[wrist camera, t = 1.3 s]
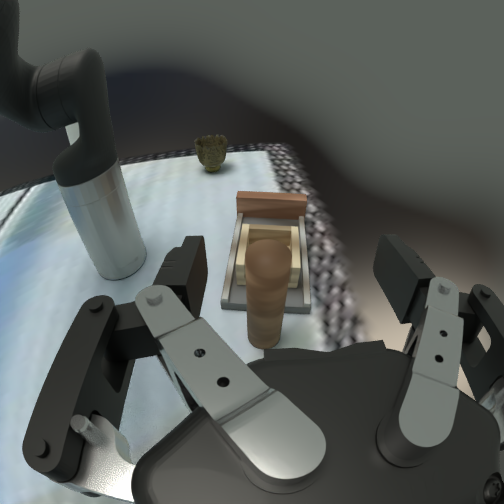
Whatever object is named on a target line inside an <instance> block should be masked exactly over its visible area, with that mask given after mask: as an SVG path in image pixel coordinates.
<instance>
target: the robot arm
mask: <svg viewBox="0 0 504 504" xmlns="http://www.w3.org/2000/svg"><path fill="white" fill-rule="evenodd" d="M18 36H19V3H18V0H0V115H2V116H4V117H6V118H8V119H10V120H12V121H14V122H16V123H18V124H20V125H21V126H23V127H25V128H27V129H30V130H32V131H35V132H41V133H42V132H43V133H44V132H50V131H53V130H56V129H59V128H62V127H65V126H68V125H71V124H74V123H77V122H78V125H79V138H78V139H77V140H76V141H75V142H74V143H73V144H72V145H71V146H69V147H68V148H67V149H66V150H64V151H63V152H62V153H61V154H60V155H59V156H58V157H57V158H56V160H55V161H54V163H53V172H54V176H55V178H56V181H57V183H58V186H59V189H60V191H61V194H62V197H63V199H64V201H65V204H66V206H67V208H68V211H69V213H70V215H71V218H72V220H73V222H74V224H75V226H76V229H77V231H78V233H79V235H80V237H81V239H82V241H83V243H84V245H85V247H86V249H87V251H88V253H89V255H90V257H91V259H92V261H93V263H94V265H95V267H96V269H97V271H98V272H99V274H100V275H101V276H102V277H104V278H106V279H110V280H117V279H122V278H125V277H128V276H129V275H131V274H133V273H134V272H136V271H137V270H138V269H139V268H140V267H141V266H142V264H143V263H144V261H145V258H146V249H145V246H144V243H143V240H142V237H141V235H140V231H139V228H138V225H137V222H136V219H135V216H134V213H133V209H132V206H131V203H130V199H129V196H128V193H127V189H126V186H125V182H124V178H123V175H122V171H121V168H120V164H119V160H118V156H117V152H116V147H115V141H114V134H113V128H112V123H111V117H110V111H109V104H108V94H107V85H106V76H105V70H104V65H103V62H102V59H101V57H100V55H99V54H98V53H97V52H96V51H95V50H94V49H91V48H88V49H83V50H80V51H77V52H74V53H72V54H69V55H67V56H64V57H61V58H59V59H57V60H54V61H52V62H50V63H48V64H45V65H43V66H33V65H31V64H29V63H27V62H25V61H24V60H23V59H22V58H21V57H19V55H18V51H17V50H18ZM373 271H374V275H375V277H376V279H377V281H378V283H379V285H380V286H381V288H382V290H383V292H384V293H385V295H386V297H387V299H388V301H389V302H390V304H391V306H392V308H393V310H394V312H395V313H396V316H397V318H398V320H399V321H400V323H401V324H405V323H412V326H411V328H410V330H409V333H408V336H407V339H406V342H405V346H404V348H403V352H400V351H397V350H392V349H386V347H385V344H384V342H383V340H379V341H371V342H362V343H355V344H353V345H350V346H347V347H344V348H341V349H338V350H335V351H331V352H322V351H314V350H307V349H300V348H282V349H264V358H262V359H258V360H255V361H252V362H250V363H248V364H245V363H244V362H243V361H242V360H241V359H240V358H239V357H238V356H237V355H236V353H235V352H234V351H233V350H232V349H231V348H230V347H229V346H228V345H227V344H226V343H225V342H224V341H223V339H222V338H221V337H220V336H219V335H218V334H217V333H216V332H215V331H214V329H213V328H212V327H211V326H210V325H209V324H208V323H207V321H206V320H205V319H204V318H202V317H199V316H200V311H201V306H202V301H203V297H204V292H205V287H206V283H207V277H208V267H207V259H206V250H205V242H204V237H203V236H186V237H185V239H184V242H183V244H182V246H181V247H175V248H173V249H172V250H171V251H170V252H169V253H167V255H166V257H165V259H164V262H163V263H162V265H161V268H160V270H159V272H158V274H157V276H156V278H155V280H154V282H153V285H152V286H149V287H147V288H145V289H143V290H142V291H140V292H139V293H138V294H137V296H136V298H135V301H134V302H131V303H126V304H121V305H115V304H114V301H113V299H112V298H111V297H109V296H105V295H100V296H95V297H93V298H90V299H89V300H87V301H86V302H85V303H84V304H83V305H82V306H81V308H80V310H79V312H78V314H77V315H76V317H75V319H74V321H73V323H72V325H71V327H70V329H69V331H68V333H67V334H66V336H65V338H64V340H63V342H62V345H61V347H60V349H59V351H58V353H57V355H56V357H55V359H54V361H53V364H52V366H51V368H50V370H49V373H48V375H47V377H46V380H45V382H44V384H43V387H42V389H41V392H40V394H39V397H38V399H37V402H36V405H35V407H34V410H33V413H32V416H31V419H30V422H29V425H28V428H27V431H26V434H25V437H24V440H23V446H22V450H23V455H24V458H25V460H26V462H27V463H28V465H29V466H30V467H31V468H33V469H34V470H36V471H37V472H39V473H41V474H43V475H45V476H47V477H48V478H49V479H50V480H52V481H54V482H56V483H58V484H60V485H62V486H64V487H66V488H68V489H70V490H73V491H75V492H80V493H82V494H84V495H87V496H90V497H99V496H105V497H109V498H113V499H117V500H120V501H125V502H129V503H133V504H504V483H503V481H502V478H501V474H500V460H499V459H500V451H502V450H504V305H503V304H502V303H501V301H500V300H499V299H498V297H497V296H496V295H495V293H494V292H493V291H492V290H491V289H490V288H488V287H486V286H484V285H481V284H476V285H474V286H473V288H472V290H471V292H470V294H467V293H461V292H459V290H458V288H457V286H456V285H455V284H454V283H453V282H451V281H450V280H448V279H446V278H442V277H435V275H434V274H433V273H432V271H431V270H430V269H429V268H428V266H427V265H426V264H425V263H424V262H423V260H422V259H421V258H419V255H418V254H417V253H416V252H415V251H414V250H413V249H411V248H410V247H408V246H407V245H405V243H404V242H403V241H402V240H401V239H400V238H399V237H398V236H397V235H381V237H380V239H379V243H378V247H377V252H376V256H375V261H374V266H373ZM483 326H484V327H485V328H486V330H487V332H488V334H489V335H490V338H491V346H490V348H489V350H488V351H487V352H486V351H485V350H484V348H483V346H482V344H481V342H480V340H479V339H478V337H477V336H478V334H479V332H480V331H481V329H482V327H483ZM154 355H156V357H157V359H158V361H159V362H160V364H161V366H162V367H163V369H164V371H165V372H166V374H167V376H168V377H169V379H170V380H171V382H172V384H173V385H174V387H175V388H176V390H177V392H178V394H179V395H180V397H181V399H182V401H183V402H184V404H185V406H186V407H187V409H188V410H189V412H190V414H189V415H188V416H187V417H186V418H185V419H184V420H183V421H182V422H181V423H180V424H178V425H177V426H176V427H175V428H174V429H173V430H172V431H171V432H170V433H168V434H167V435H166V436H165V437H164V438H163V439H162V440H160V441H159V442H158V443H157V444H156V445H155V446H153V447H152V448H151V449H150V450H149V451H147V452H146V453H145V454H144V455H143V456H142V457H141V458H140V460H139V461H138V462H137V464H136V466H135V465H133V463H132V462H131V459H130V455H129V444H128V441H127V440H126V438H125V437H124V436H123V435H122V434H121V433H120V432H119V427H120V422H121V417H122V412H123V408H124V404H125V399H126V395H127V391H128V387H129V383H130V379H131V375H132V371H133V367H134V363H135V360H136V359H138V358H144V357H149V356H154ZM460 364H461V367H462V369H463V371H464V373H465V376H466V378H467V380H468V383H469V385H470V387H471V390H472V392H473V395H474V397H475V400H476V401H475V400H473V399H472V398H471V397H469V396H468V395H466V394H465V393H463V392H462V391H460V390H459V389H458V388H457V379H458V372H459V365H460Z"/></svg>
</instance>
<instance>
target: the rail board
mask: <svg viewBox="0 0 504 504" xmlns="http://www.w3.org/2000/svg"><path fill="white" fill-rule="evenodd" d="M236 202H237V220H236V225H235V230H234V235H233V240H232V245H231V250H230V255H229V260H228V265H227V271H226V276H225V281H224V286H223V292H222V297H221V308H222V309H231V310H244V311H247V302H246V285H237V277H236V259H237V253H238V247H239V242H240V236H241V230H242V224H258V225H277V226H295V227H298V232H299V248H300V266H301V268H300V274H299V279H298V285H297V288H288V289H287V296H286V302H285V309H284V313H300V314H309V313H310V310H311V297H310V282H309V268H308V255H307V244H306V233H305V223H304V218H305V211H306V204H307V198H306V194H290V193H273V192H250V191H238V192H237V197H236Z"/></svg>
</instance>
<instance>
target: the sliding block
mask: <svg viewBox="0 0 504 504" xmlns="http://www.w3.org/2000/svg"><path fill="white" fill-rule="evenodd" d="M264 239H271V240H276V241H279V242H282V243H283V244H285V245H286V246H287V247H288V248H289V249H290V251H291V253H292V262H291V269H290V276H289V283H288V288H297V285H298V279H299V274H300V268H301V266H300V248H299V232H298V227H295V226H277V225H258V224H242V230H241V236H240V242H239V247H238V253H237V259H236V277H237V285H246V272H245V252H246V250H247V248H248V247H249V246H250V245H251V244H252V243H254V242H256V241H259V240H264Z"/></svg>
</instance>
